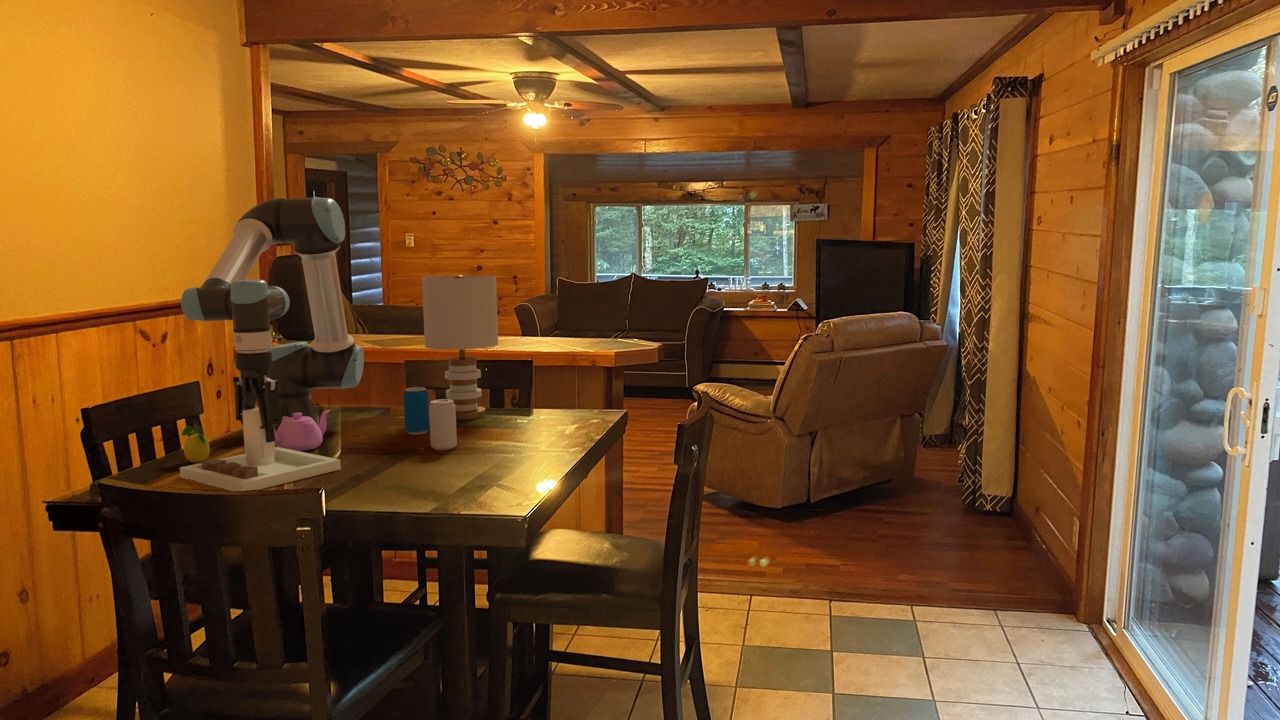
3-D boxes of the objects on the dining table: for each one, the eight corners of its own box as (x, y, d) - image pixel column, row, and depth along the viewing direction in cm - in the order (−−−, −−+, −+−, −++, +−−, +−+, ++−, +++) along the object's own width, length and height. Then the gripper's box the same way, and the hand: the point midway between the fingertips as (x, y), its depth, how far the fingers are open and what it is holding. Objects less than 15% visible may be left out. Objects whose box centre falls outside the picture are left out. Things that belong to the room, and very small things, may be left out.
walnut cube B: (218, 480, 208) (217, 465, 207) (234, 477, 210) (233, 462, 210) (226, 483, 205) (225, 467, 205) (242, 480, 208) (240, 464, 208)
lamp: (431, 410, 292) (426, 274, 286) (501, 407, 294) (497, 273, 288) (424, 423, 271) (417, 277, 265) (499, 421, 273) (494, 276, 268)
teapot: (265, 453, 237) (262, 418, 236) (287, 441, 251) (285, 408, 250) (312, 453, 237) (310, 417, 235) (332, 441, 250) (330, 407, 249)
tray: (180, 480, 211) (179, 467, 211) (277, 459, 231) (277, 446, 230) (243, 497, 197) (242, 483, 197) (340, 472, 217) (340, 459, 216)
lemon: (183, 463, 228) (180, 421, 226) (210, 460, 230) (207, 419, 229) (182, 469, 222) (179, 427, 220) (210, 466, 224) (207, 424, 223)
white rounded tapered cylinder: (240, 463, 213) (236, 410, 211) (264, 458, 218) (261, 406, 216) (256, 467, 209) (252, 413, 208) (280, 462, 214) (277, 408, 213)
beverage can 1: (433, 430, 262) (431, 386, 260) (425, 435, 255) (423, 390, 254) (409, 430, 263) (407, 386, 261) (401, 435, 256) (399, 390, 255)
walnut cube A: (202, 477, 211) (201, 462, 210) (215, 474, 214) (214, 458, 213) (213, 479, 209) (212, 463, 209) (227, 475, 212) (225, 460, 212)
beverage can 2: (461, 446, 242) (459, 399, 240) (448, 451, 236) (446, 403, 234) (439, 444, 244) (437, 397, 243) (425, 450, 238) (423, 402, 237)
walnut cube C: (233, 486, 203) (232, 469, 203) (244, 481, 207) (243, 466, 206) (247, 487, 202) (246, 470, 202) (258, 482, 206) (257, 466, 205)
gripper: (213, 350, 213) (220, 452, 216) (263, 355, 202) (270, 463, 205) (244, 346, 219) (251, 446, 222) (294, 351, 208) (300, 456, 211)
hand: (260, 454), depth 213 cm, fingers closed on white rounded tapered cylinder, 6 cm apart
